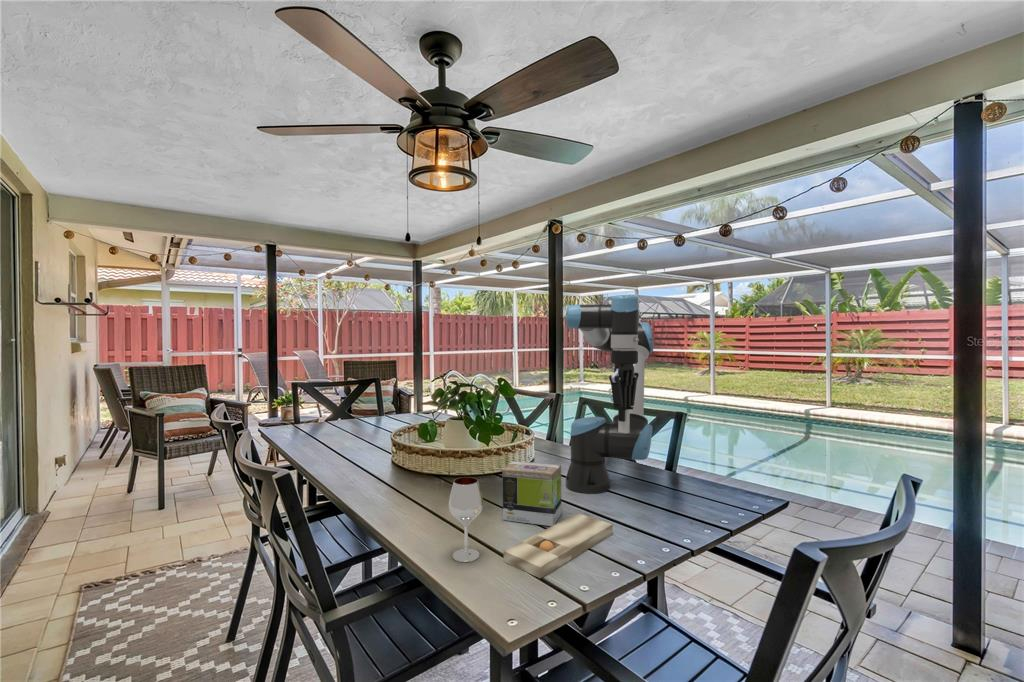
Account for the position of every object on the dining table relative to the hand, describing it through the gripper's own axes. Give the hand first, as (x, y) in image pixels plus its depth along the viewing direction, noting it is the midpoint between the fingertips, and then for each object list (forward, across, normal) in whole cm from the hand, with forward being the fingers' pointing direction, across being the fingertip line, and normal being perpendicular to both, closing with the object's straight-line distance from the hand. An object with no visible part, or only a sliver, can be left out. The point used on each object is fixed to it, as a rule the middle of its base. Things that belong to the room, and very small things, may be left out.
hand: (623, 432), depth 135 cm
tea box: (+25, -18, +19) cm, 36 cm away
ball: (+23, -33, +2) cm, 40 cm away
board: (+24, -27, +2) cm, 36 cm away
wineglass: (+25, -46, +16) cm, 55 cm away
